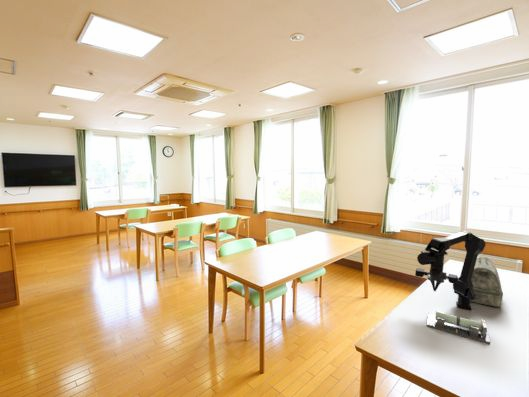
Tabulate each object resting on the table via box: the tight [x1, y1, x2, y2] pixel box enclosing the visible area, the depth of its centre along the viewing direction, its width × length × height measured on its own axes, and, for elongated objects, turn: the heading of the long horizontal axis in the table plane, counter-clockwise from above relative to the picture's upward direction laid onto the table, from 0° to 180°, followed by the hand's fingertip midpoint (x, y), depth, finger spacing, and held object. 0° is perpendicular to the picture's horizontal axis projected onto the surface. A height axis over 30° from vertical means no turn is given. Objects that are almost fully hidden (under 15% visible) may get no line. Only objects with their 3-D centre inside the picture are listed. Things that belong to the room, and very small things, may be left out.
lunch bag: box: [470, 256, 504, 308], centre depth 161 cm, size 26×18×22 cm
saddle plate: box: [426, 311, 491, 345], centre depth 131 cm, size 12×24×6 cm, turn 56°
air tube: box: [435, 311, 482, 332], centre depth 130 cm, size 4×18×4 cm, turn 57°
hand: (434, 291), depth 144 cm, fingers closed
